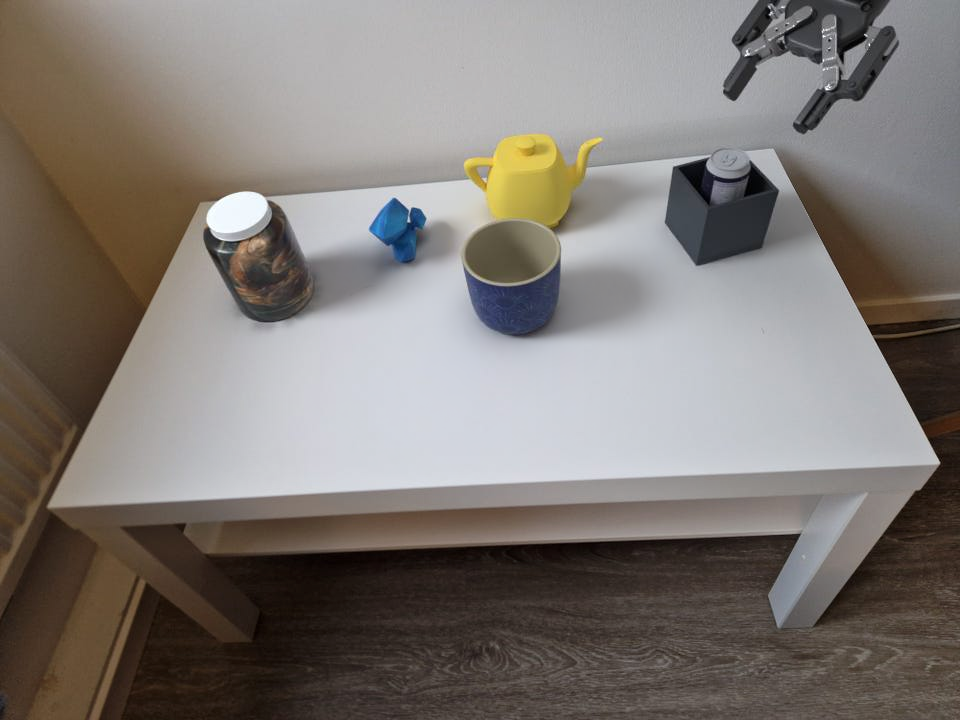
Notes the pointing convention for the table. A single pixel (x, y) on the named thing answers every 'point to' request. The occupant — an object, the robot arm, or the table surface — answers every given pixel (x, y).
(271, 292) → the jar
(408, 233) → the crystal
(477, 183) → the teapot
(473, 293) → the planter
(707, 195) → the beverage can
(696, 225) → the trash bin
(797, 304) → the table surface
